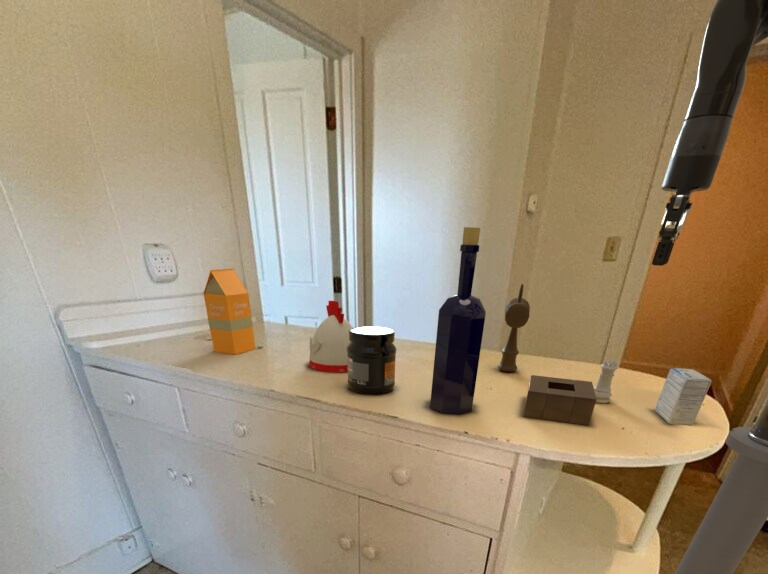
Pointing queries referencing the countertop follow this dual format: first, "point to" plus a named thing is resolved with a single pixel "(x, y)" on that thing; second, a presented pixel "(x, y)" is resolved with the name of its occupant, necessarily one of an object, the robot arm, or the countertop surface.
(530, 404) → the socket block
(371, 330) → the supplement container
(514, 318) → the kendama
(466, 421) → the countertop surface
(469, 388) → the bottle
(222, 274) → the orange juice
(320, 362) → the kitchen timer
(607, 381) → the rook chess piece
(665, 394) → the medicine box
